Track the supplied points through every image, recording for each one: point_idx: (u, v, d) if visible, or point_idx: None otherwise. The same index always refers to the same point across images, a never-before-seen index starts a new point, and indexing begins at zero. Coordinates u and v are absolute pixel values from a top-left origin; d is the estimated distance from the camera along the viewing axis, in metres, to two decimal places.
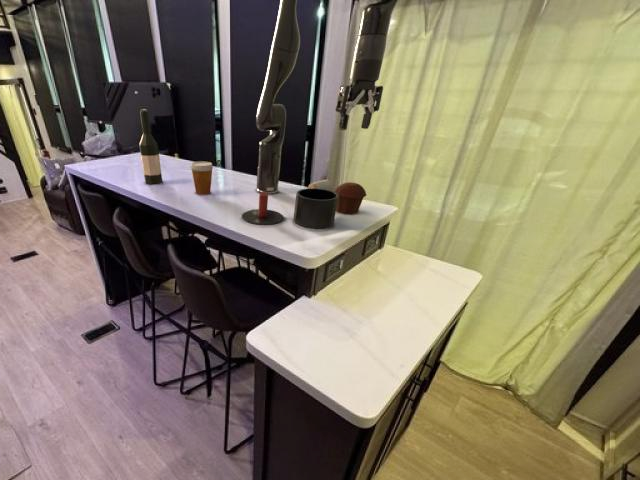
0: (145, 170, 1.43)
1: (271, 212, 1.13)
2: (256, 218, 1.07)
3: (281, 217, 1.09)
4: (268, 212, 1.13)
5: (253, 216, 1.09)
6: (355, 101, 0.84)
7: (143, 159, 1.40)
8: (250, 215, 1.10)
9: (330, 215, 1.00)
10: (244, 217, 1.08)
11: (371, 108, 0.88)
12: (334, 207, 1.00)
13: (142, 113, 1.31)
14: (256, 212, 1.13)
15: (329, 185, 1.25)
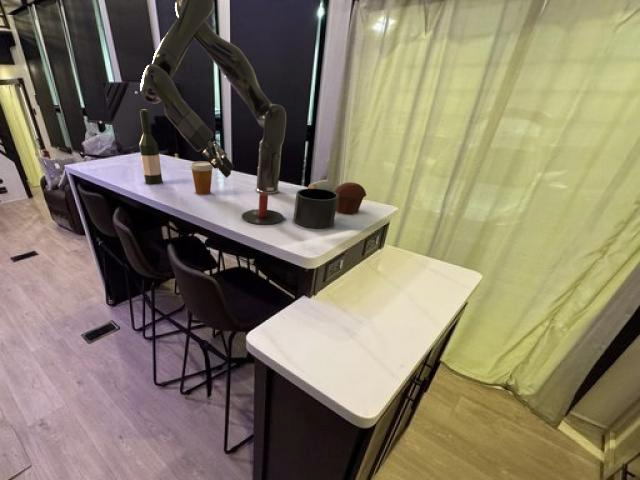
0: (145, 170, 1.43)
1: (271, 212, 1.13)
2: (256, 218, 1.07)
3: (281, 217, 1.09)
4: (268, 212, 1.13)
5: (253, 216, 1.09)
6: (218, 153, 0.97)
7: (143, 159, 1.40)
8: (250, 215, 1.10)
9: (330, 215, 1.00)
10: (244, 217, 1.08)
11: (224, 155, 1.03)
12: (334, 207, 1.00)
13: (142, 113, 1.31)
14: (256, 212, 1.13)
15: (329, 185, 1.25)
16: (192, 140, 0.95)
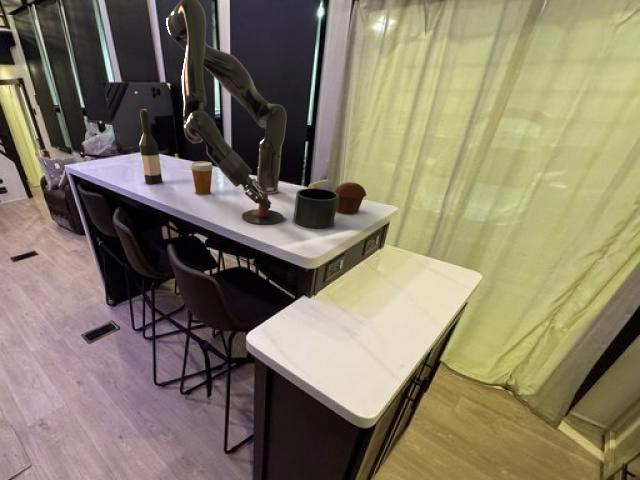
0: (145, 170, 1.43)
1: (271, 212, 1.13)
2: (256, 218, 1.07)
3: (281, 217, 1.09)
4: (268, 212, 1.13)
5: (253, 216, 1.09)
6: (257, 189, 1.03)
7: (143, 159, 1.40)
8: (250, 215, 1.10)
9: (330, 215, 1.00)
10: (244, 217, 1.08)
11: (262, 192, 1.07)
12: (334, 207, 1.00)
13: (142, 113, 1.31)
14: (256, 212, 1.13)
15: (329, 185, 1.25)
16: (232, 177, 1.00)
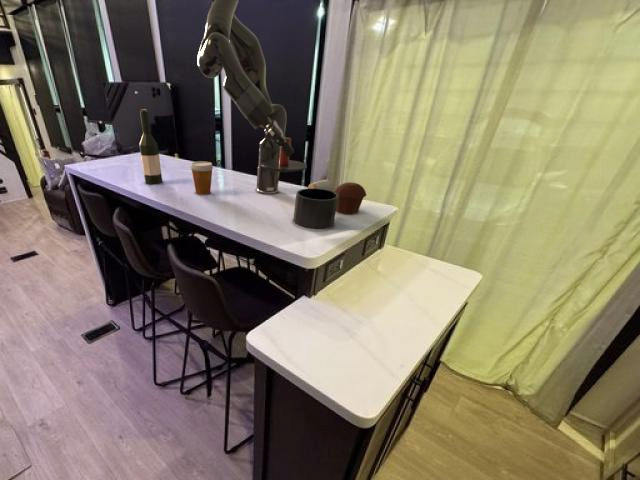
0: (145, 170, 1.43)
1: (293, 162, 1.02)
2: (277, 166, 0.96)
3: (305, 165, 0.98)
4: (289, 161, 1.02)
5: (274, 164, 0.98)
6: (280, 130, 0.92)
7: (143, 159, 1.40)
8: (270, 163, 0.99)
9: (330, 215, 1.00)
10: (264, 165, 0.97)
11: (284, 136, 0.96)
12: (334, 207, 1.00)
13: (142, 113, 1.31)
14: (276, 161, 1.02)
15: (329, 185, 1.25)
16: (252, 115, 0.90)
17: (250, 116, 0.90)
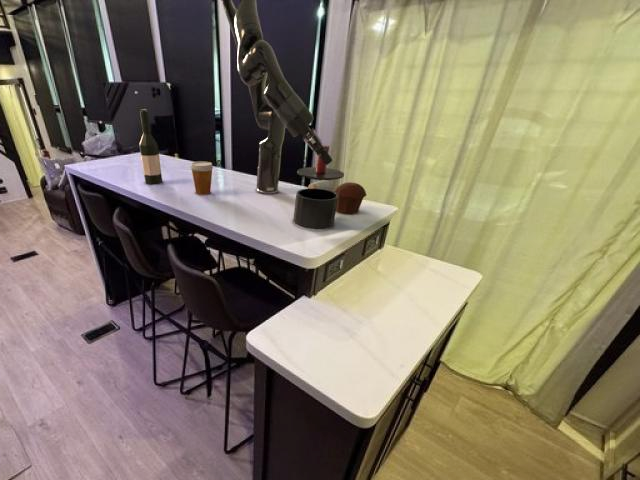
0: (145, 170, 1.43)
1: (328, 169, 1.01)
2: (315, 174, 0.96)
3: (342, 173, 0.97)
4: None
5: (311, 172, 0.97)
6: (319, 139, 0.91)
7: (143, 159, 1.40)
8: (306, 171, 0.98)
9: (330, 215, 1.00)
10: (301, 173, 0.97)
11: None
12: (334, 207, 1.00)
13: (142, 113, 1.31)
14: (312, 169, 1.01)
15: (329, 185, 1.25)
16: (292, 123, 0.89)
17: (290, 124, 0.89)
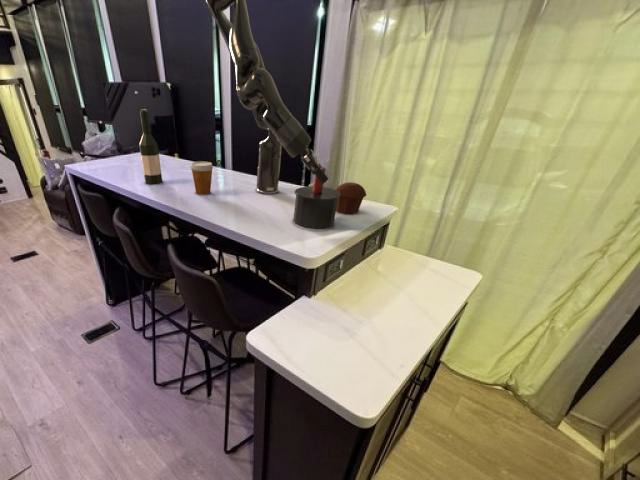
0: (145, 170, 1.43)
1: (325, 189, 1.05)
2: (312, 194, 0.99)
3: (338, 193, 1.01)
4: None
5: (308, 193, 1.01)
6: (316, 159, 0.93)
7: (143, 159, 1.40)
8: (304, 191, 1.02)
9: (330, 215, 1.00)
10: (298, 193, 1.00)
11: None
12: (334, 207, 1.00)
13: (142, 113, 1.31)
14: (309, 189, 1.05)
15: (329, 185, 1.25)
16: (290, 145, 0.92)
17: (289, 146, 0.92)
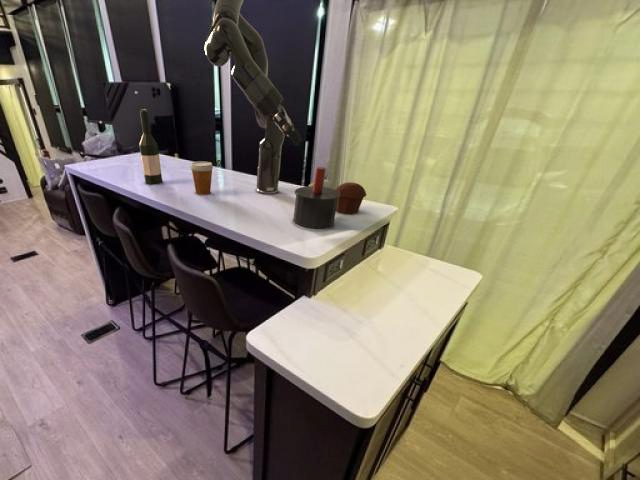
0: (145, 170, 1.43)
1: (325, 189, 1.05)
2: (312, 194, 0.99)
3: (338, 193, 1.01)
4: None
5: (308, 193, 1.01)
6: (288, 119, 0.89)
7: (143, 159, 1.40)
8: (304, 191, 1.02)
9: (330, 215, 1.00)
10: (298, 193, 1.00)
11: (291, 122, 0.95)
12: (334, 207, 1.00)
13: (142, 113, 1.31)
14: (309, 189, 1.05)
15: (329, 185, 1.25)
16: (261, 104, 0.87)
17: (259, 105, 0.88)
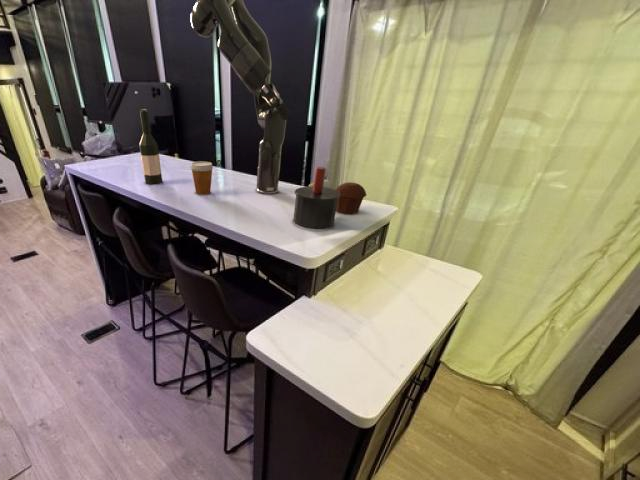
0: (145, 170, 1.43)
1: (325, 189, 1.05)
2: (312, 194, 0.99)
3: (338, 193, 1.01)
4: None
5: (308, 193, 1.01)
6: (276, 92, 0.87)
7: (143, 159, 1.40)
8: (304, 191, 1.02)
9: (330, 215, 1.00)
10: (298, 193, 1.00)
11: (279, 98, 0.93)
12: (334, 207, 1.00)
13: (142, 113, 1.31)
14: (309, 189, 1.05)
15: (329, 185, 1.25)
16: (248, 76, 0.85)
17: (246, 78, 0.86)
